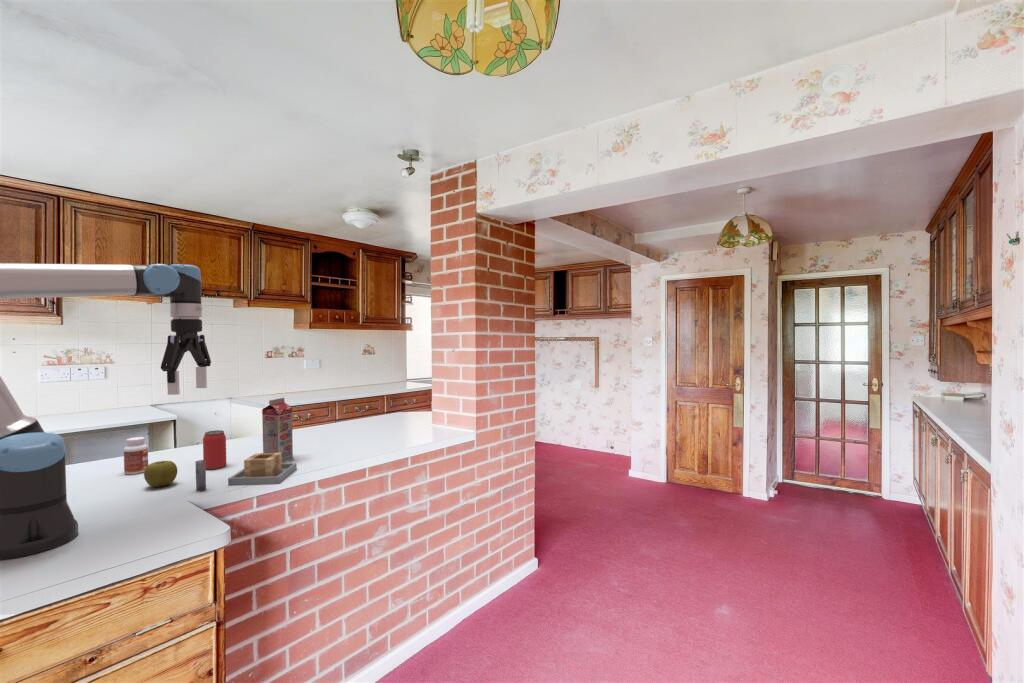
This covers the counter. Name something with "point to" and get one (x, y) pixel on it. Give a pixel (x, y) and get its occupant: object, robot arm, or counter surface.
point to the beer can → (214, 449)
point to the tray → (241, 480)
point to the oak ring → (263, 465)
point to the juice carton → (278, 429)
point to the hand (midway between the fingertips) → (188, 391)
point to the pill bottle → (135, 456)
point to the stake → (200, 475)
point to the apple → (160, 473)
